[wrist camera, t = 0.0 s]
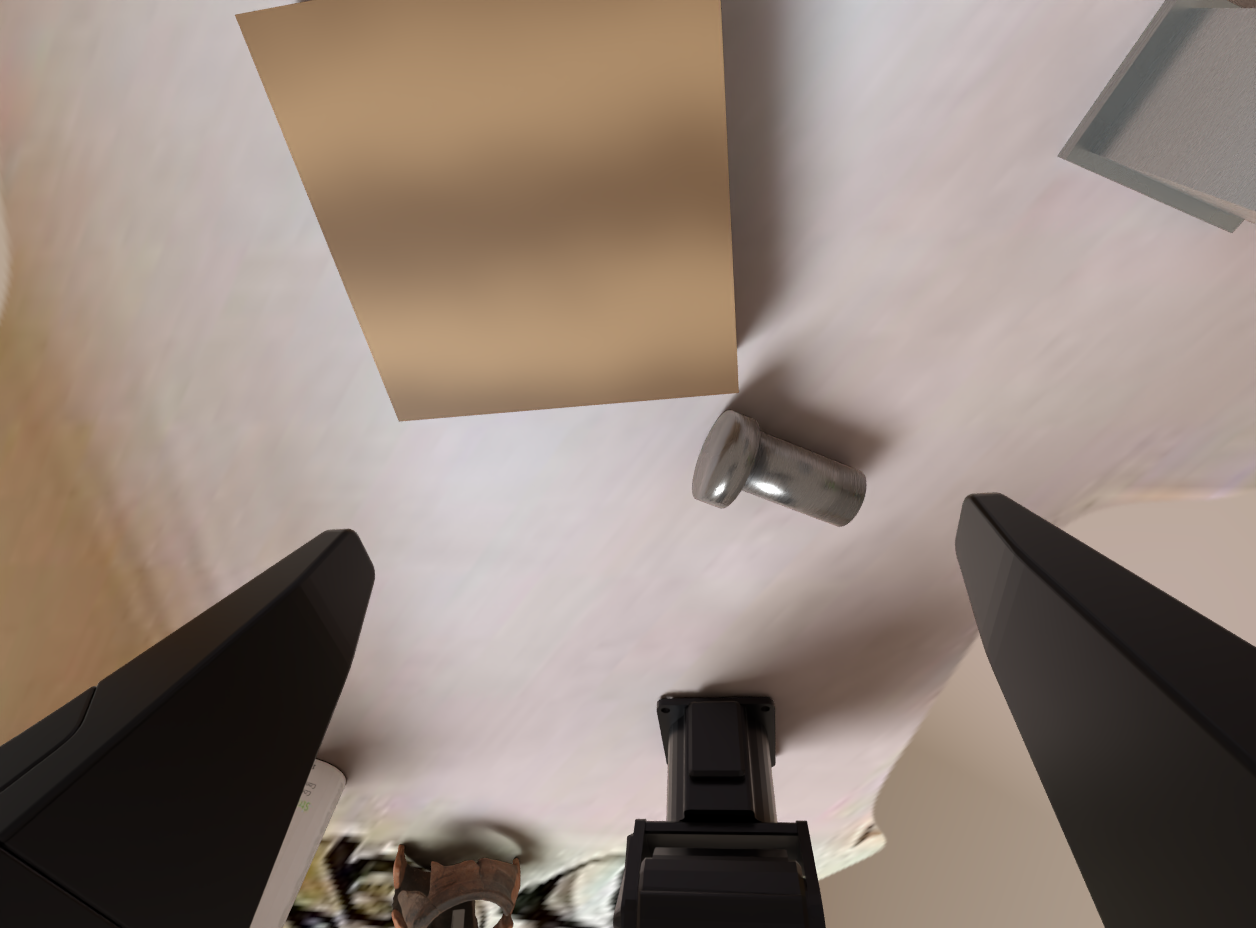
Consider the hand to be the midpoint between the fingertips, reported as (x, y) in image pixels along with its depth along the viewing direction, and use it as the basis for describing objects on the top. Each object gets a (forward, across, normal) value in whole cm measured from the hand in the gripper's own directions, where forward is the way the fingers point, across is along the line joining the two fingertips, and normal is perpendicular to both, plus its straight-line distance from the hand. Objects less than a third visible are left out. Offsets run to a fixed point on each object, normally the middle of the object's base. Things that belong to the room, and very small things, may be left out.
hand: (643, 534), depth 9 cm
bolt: (+15, -4, +9) cm, 18 cm away
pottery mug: (+15, +21, +46) cm, 53 cm away
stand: (+15, +4, -2) cm, 15 cm away
